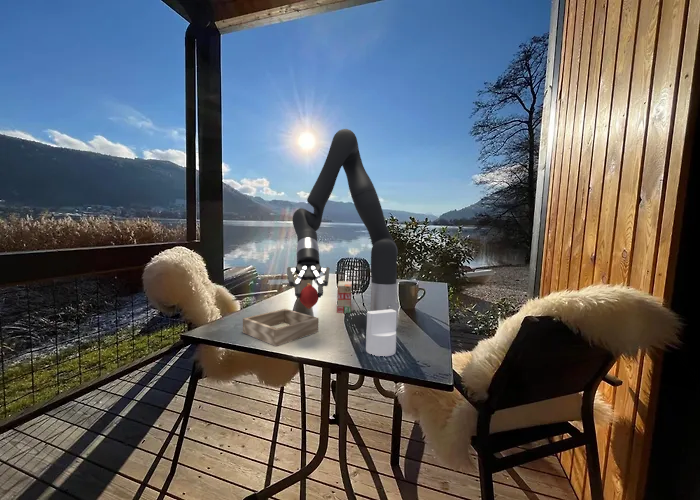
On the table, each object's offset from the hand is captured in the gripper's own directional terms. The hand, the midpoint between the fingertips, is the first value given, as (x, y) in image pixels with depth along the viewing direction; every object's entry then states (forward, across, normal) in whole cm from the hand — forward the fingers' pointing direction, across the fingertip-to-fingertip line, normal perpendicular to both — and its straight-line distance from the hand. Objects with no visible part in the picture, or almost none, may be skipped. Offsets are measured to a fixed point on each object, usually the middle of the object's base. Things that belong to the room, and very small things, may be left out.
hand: (309, 296), depth 92 cm
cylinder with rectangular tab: (+15, +21, +8) cm, 27 cm away
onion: (+2, 0, +4) cm, 5 cm away
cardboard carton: (-22, +20, +46) cm, 54 cm away
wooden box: (+1, -9, +22) cm, 24 cm away
